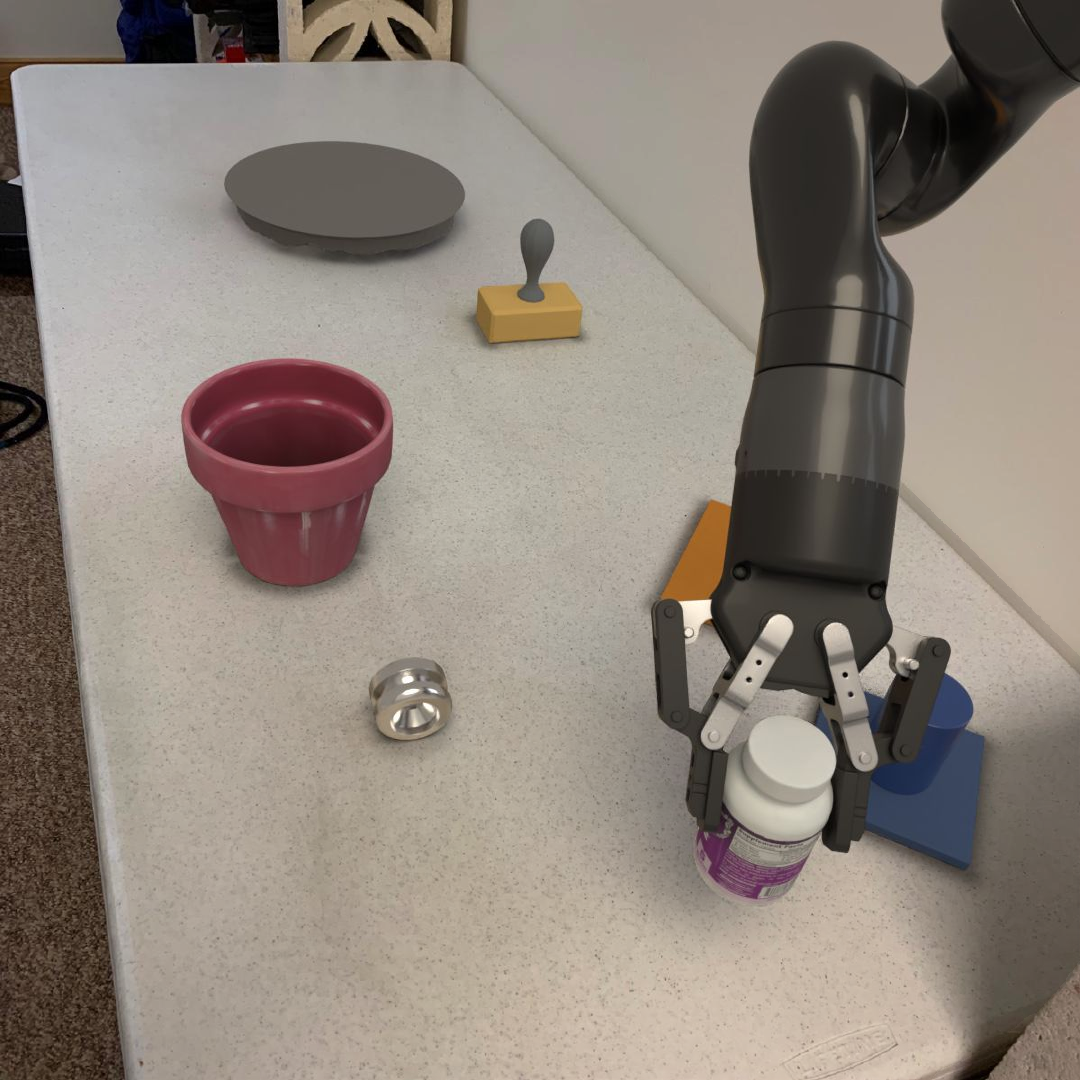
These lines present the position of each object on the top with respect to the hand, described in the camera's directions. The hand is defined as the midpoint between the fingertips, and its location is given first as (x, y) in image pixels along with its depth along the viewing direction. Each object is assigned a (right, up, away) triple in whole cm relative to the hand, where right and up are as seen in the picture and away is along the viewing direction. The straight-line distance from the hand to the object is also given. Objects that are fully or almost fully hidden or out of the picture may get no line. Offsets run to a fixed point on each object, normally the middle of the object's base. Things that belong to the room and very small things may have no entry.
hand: (771, 837), depth 46 cm
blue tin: (+13, -1, +20) cm, 24 cm away
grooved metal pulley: (-19, +1, +19) cm, 27 cm away
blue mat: (+13, -2, +21) cm, 25 cm away
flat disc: (-34, +52, +75) cm, 98 cm away
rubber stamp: (-12, +36, +60) cm, 71 cm away
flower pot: (-29, +13, +31) cm, 45 cm away
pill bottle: (0, -3, +5) cm, 6 cm away
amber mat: (+8, +10, +34) cm, 36 cm away
